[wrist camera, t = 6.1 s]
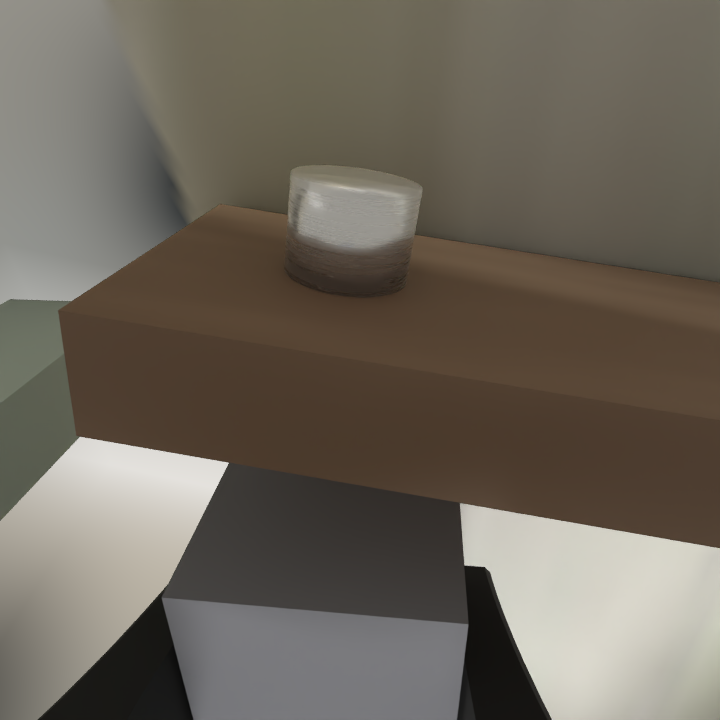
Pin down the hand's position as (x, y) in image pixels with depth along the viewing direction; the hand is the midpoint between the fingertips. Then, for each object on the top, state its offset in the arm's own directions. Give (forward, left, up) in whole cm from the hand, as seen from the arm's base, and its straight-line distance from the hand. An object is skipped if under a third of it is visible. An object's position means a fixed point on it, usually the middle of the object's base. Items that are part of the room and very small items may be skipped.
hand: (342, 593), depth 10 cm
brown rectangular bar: (+6, -5, -2) cm, 8 cm away
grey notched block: (-1, 0, -3) cm, 3 cm away
